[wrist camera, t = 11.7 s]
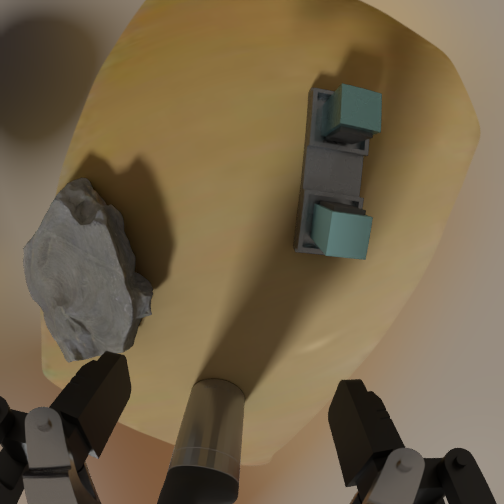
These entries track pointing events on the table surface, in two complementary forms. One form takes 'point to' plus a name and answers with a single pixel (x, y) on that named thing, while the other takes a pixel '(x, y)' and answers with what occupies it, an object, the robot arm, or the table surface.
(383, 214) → the table surface
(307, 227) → the grey block holder
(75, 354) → the stone
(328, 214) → the block
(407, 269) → the table surface
